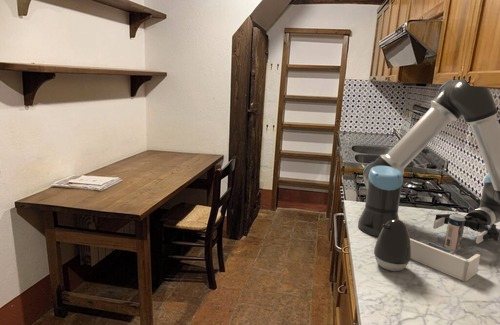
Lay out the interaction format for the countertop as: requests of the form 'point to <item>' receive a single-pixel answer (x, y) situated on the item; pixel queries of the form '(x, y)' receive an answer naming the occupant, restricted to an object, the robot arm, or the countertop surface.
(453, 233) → the beer can
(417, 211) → the countertop surface
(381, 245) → the black glossy domed part
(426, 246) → the walled box
